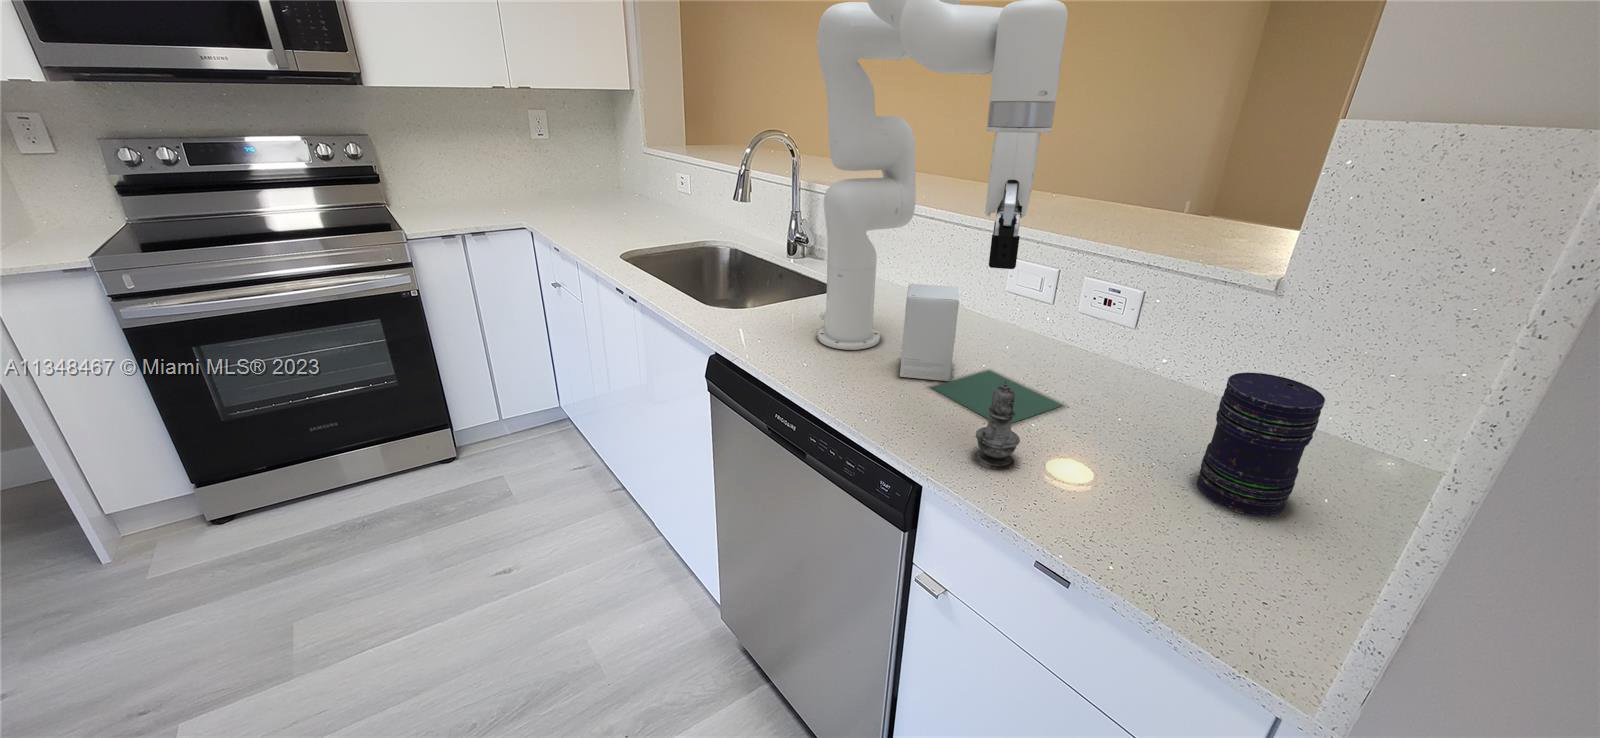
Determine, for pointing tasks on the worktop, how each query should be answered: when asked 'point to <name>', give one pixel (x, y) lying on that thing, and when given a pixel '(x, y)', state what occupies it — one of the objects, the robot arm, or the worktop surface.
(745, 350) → the worktop surface
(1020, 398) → the mat
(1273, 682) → the worktop surface
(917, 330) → the white product box
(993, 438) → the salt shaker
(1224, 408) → the storage jar
